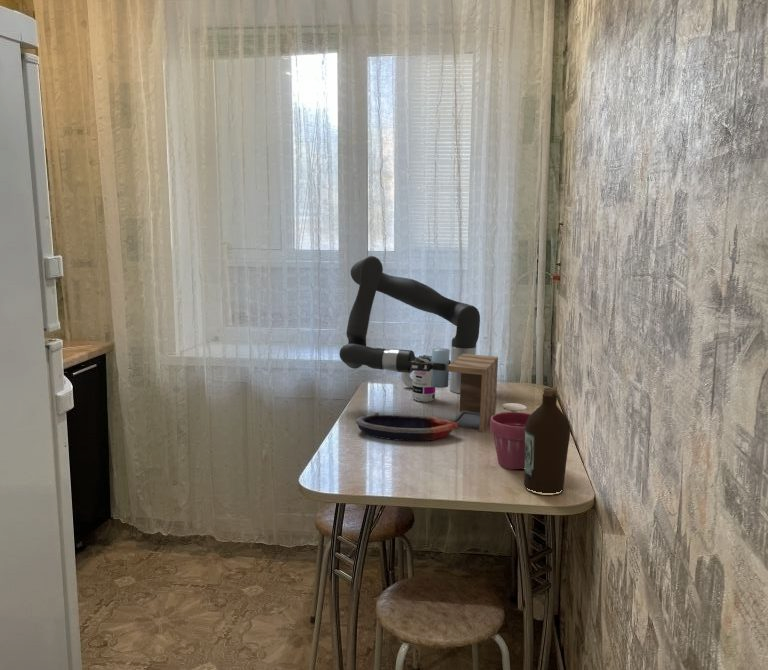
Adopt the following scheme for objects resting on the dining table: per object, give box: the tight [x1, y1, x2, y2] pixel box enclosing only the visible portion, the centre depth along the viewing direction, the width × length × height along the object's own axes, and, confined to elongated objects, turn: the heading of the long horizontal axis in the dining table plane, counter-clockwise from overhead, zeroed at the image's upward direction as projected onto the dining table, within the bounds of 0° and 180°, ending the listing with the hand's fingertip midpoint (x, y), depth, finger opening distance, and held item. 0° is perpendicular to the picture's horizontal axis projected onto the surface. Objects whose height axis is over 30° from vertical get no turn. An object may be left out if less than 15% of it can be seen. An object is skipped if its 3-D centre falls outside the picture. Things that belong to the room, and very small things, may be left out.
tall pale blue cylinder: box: [431, 347, 451, 389], centre depth 223 cm, size 6×6×12 cm
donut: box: [400, 371, 413, 389], centre depth 262 cm, size 10×4×10 cm, turn 77°
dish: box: [355, 412, 458, 442], centre depth 207 cm, size 16×31×5 cm, turn 81°
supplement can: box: [411, 370, 436, 403], centre depth 246 cm, size 8×8×15 cm
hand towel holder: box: [501, 402, 527, 412], centre depth 220 cm, size 17×4×21 cm
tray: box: [451, 411, 480, 430], centre depth 222 cm, size 14×9×1 cm, turn 161°
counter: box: [447, 354, 499, 433], centre depth 221 cm, size 21×12×20 cm, turn 161°
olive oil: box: [523, 387, 571, 493], centre depth 166 cm, size 11×11×25 cm
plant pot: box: [489, 411, 532, 470], centre depth 183 cm, size 14×14×13 cm
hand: (447, 365), depth 222 cm, fingers closed on tall pale blue cylinder, 5 cm apart
